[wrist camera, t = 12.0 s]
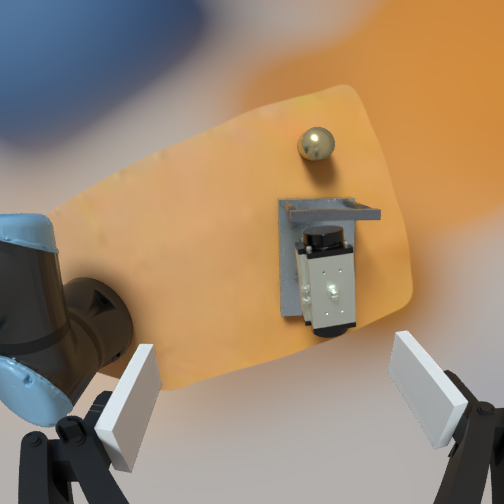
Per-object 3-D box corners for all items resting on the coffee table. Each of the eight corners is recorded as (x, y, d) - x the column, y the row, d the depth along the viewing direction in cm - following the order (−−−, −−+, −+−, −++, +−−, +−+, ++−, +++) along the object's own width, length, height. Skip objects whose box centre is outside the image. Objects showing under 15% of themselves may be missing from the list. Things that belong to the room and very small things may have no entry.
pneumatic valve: (328, 216, 40) (355, 234, 29) (335, 299, 43) (359, 343, 32) (286, 221, 41) (297, 242, 29) (296, 305, 44) (308, 351, 32)
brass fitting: (297, 160, 42) (303, 159, 37) (296, 131, 41) (301, 127, 36) (326, 160, 41) (335, 159, 37) (325, 131, 40) (334, 127, 36)
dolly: (279, 307, 47) (287, 357, 34) (277, 198, 43) (285, 210, 30) (345, 303, 47) (373, 350, 34) (348, 196, 43) (385, 208, 30)
